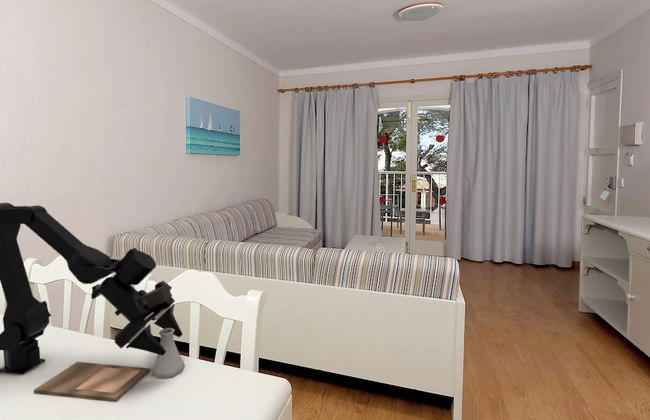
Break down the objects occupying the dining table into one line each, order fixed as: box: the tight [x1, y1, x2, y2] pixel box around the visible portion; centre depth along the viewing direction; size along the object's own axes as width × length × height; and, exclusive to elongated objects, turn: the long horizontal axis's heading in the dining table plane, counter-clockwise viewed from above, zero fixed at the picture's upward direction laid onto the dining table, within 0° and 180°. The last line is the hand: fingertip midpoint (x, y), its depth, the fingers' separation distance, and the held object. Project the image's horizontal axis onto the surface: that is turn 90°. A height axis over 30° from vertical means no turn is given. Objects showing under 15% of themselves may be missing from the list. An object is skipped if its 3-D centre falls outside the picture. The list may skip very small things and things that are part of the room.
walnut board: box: [33, 361, 151, 403], centre depth 86 cm, size 19×12×1 cm, turn 82°
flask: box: [150, 328, 186, 379], centre depth 91 cm, size 7×7×10 cm
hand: (173, 344), depth 91 cm, fingers open, 9 cm apart
